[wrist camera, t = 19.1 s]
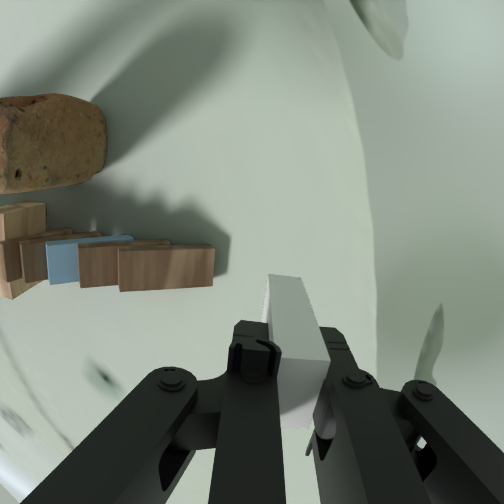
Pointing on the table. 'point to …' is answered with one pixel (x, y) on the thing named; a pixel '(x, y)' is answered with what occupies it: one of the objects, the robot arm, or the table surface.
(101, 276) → the domino
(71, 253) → the domino
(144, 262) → the domino
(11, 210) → the end block
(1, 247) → the domino
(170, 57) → the table surface
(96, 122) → the bread loaf
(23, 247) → the domino
